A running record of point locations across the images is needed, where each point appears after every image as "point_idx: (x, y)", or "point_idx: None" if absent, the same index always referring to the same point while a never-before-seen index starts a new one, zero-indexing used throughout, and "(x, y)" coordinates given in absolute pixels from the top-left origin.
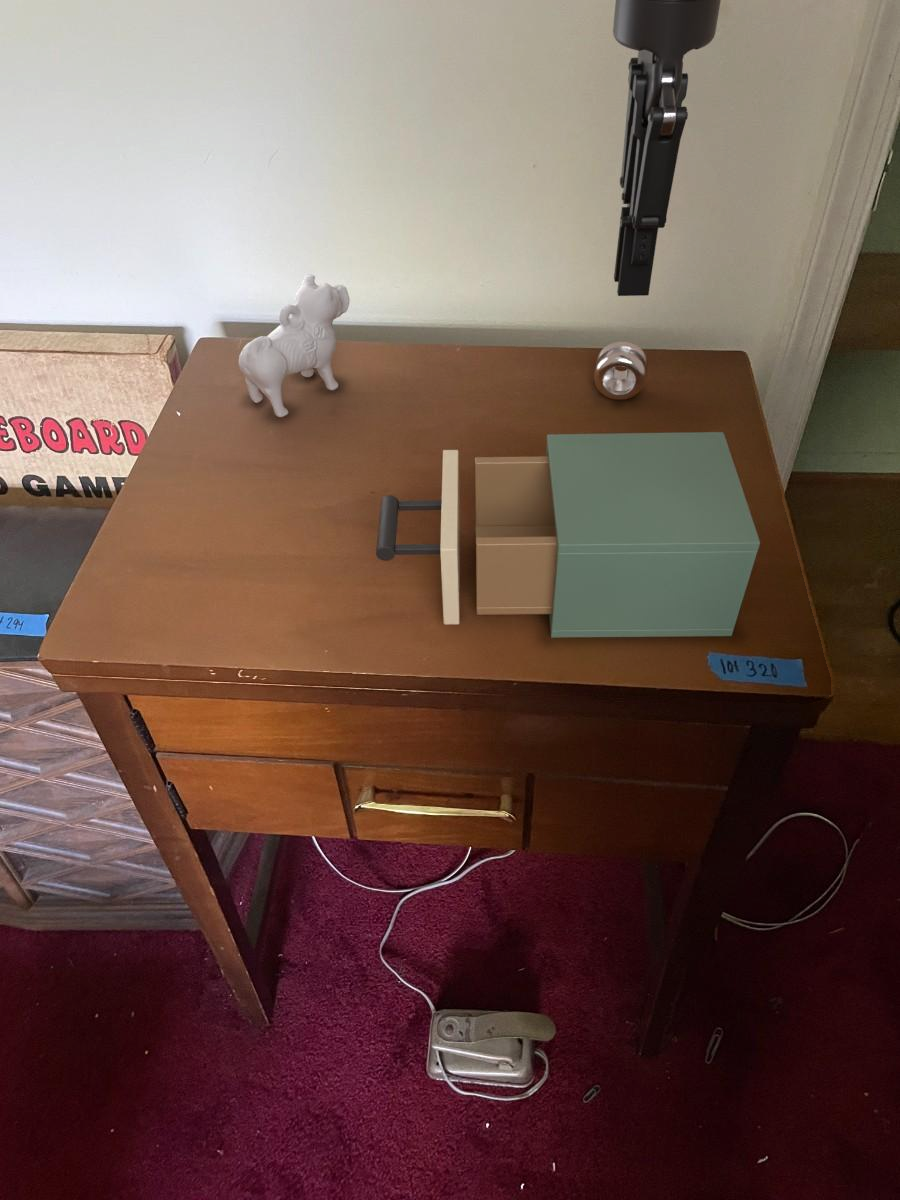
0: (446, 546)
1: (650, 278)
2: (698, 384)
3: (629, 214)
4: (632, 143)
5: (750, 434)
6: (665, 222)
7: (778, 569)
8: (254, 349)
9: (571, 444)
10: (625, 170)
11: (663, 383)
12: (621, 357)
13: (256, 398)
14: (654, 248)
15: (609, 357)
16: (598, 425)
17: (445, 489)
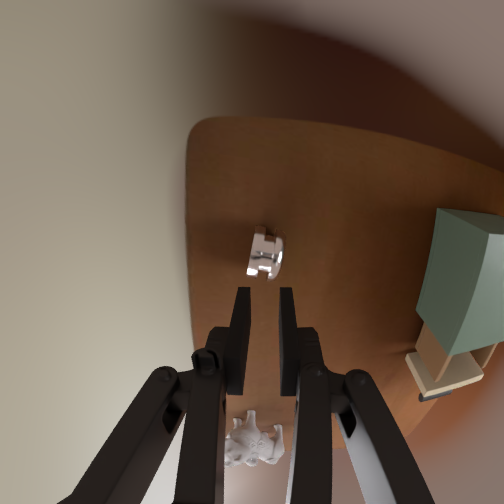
0: (480, 378)
1: (292, 300)
2: (249, 163)
3: (242, 383)
4: (223, 490)
5: (337, 132)
6: (362, 374)
7: (471, 169)
8: (276, 461)
9: (462, 341)
10: (178, 423)
11: (247, 198)
12: (279, 267)
13: (267, 435)
14: (296, 329)
15: (274, 277)
16: (314, 266)
17: (451, 388)
